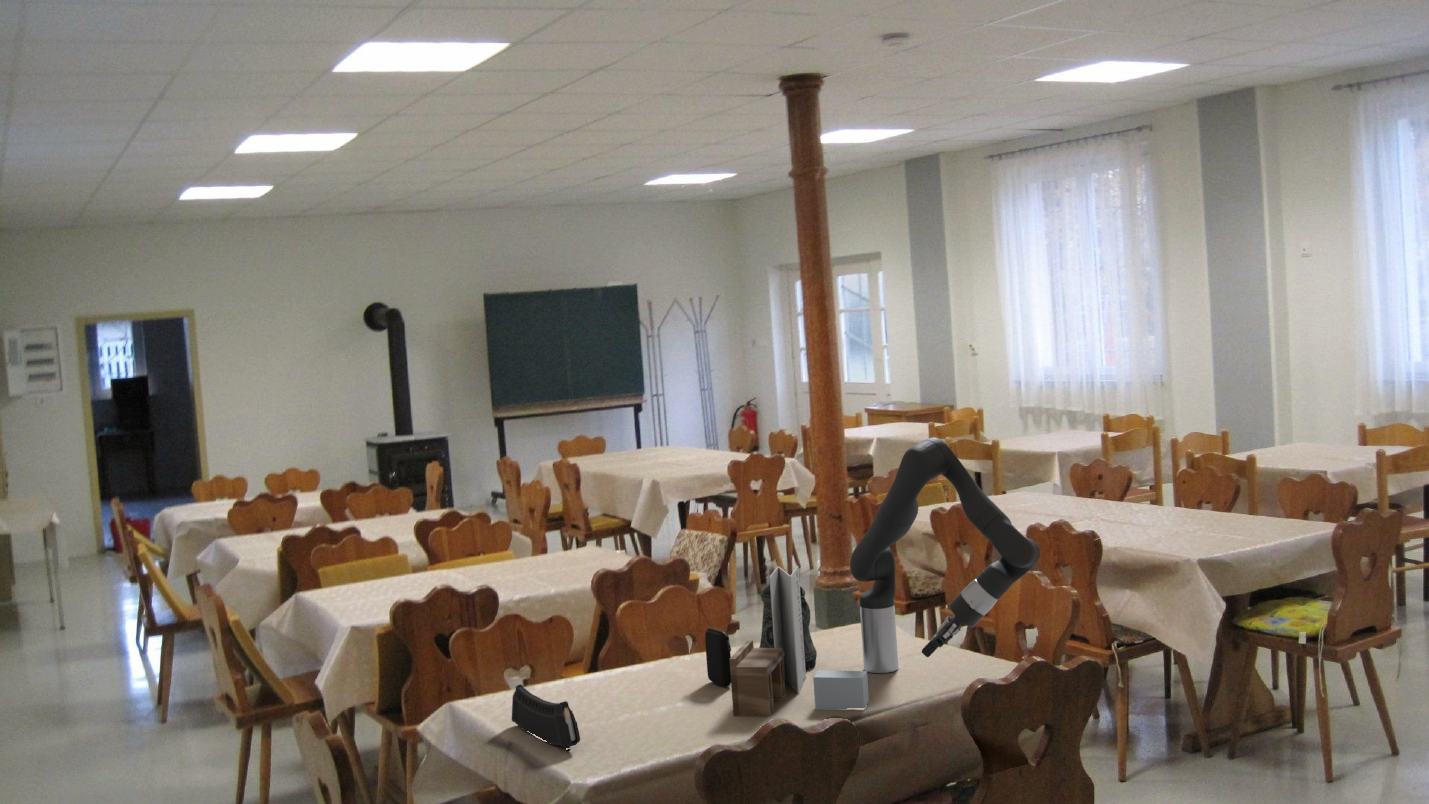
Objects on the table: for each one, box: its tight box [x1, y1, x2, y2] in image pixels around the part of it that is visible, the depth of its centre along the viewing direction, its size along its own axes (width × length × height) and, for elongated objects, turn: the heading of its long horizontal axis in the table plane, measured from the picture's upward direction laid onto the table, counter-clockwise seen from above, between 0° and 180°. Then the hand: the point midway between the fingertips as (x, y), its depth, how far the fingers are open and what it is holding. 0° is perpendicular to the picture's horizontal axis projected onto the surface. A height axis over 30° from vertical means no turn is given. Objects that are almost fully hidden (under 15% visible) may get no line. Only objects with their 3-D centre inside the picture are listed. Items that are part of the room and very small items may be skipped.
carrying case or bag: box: [704, 627, 732, 688], centre depth 323 cm, size 11×3×15 cm, turn 33°
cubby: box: [729, 639, 786, 718], centre depth 303 cm, size 18×10×14 cm, turn 165°
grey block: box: [812, 670, 870, 711], centre depth 297 cm, size 6×12×8 cm, turn 73°
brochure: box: [769, 565, 807, 695], centre depth 318 cm, size 14×6×30 cm, turn 168°
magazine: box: [511, 683, 581, 749], centre depth 289 cm, size 17×3×30 cm
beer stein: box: [758, 583, 818, 671], centre depth 337 cm, size 16×19×25 cm
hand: (924, 654), depth 292 cm, fingers closed
